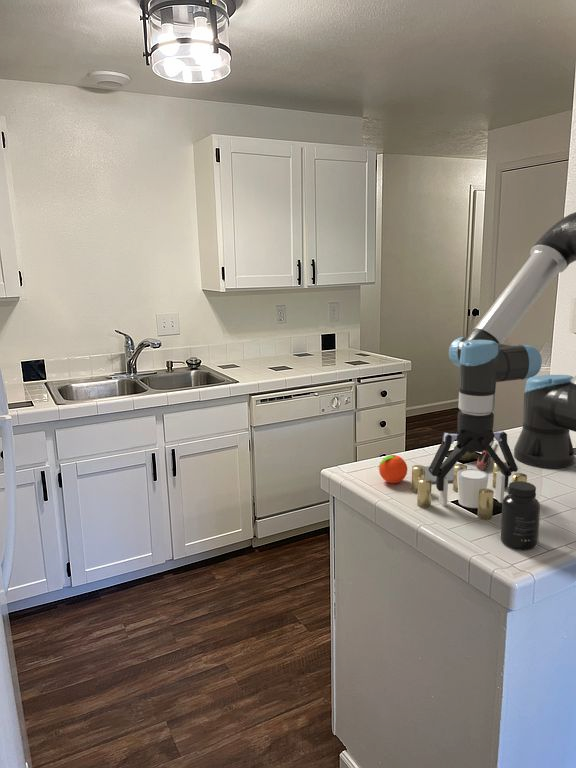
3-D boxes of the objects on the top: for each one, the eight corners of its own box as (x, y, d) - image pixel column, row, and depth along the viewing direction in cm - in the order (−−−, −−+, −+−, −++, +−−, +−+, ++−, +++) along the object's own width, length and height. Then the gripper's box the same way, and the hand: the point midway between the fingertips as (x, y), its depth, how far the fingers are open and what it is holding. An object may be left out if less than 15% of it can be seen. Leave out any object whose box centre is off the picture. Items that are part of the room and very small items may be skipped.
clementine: (386, 490, 139) (387, 462, 138) (369, 481, 145) (370, 454, 144) (412, 484, 143) (413, 456, 141) (395, 475, 149) (395, 448, 147)
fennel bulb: (474, 456, 160) (476, 415, 158) (478, 463, 156) (480, 420, 153) (453, 456, 161) (454, 415, 158) (456, 463, 156) (458, 420, 154)
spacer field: (506, 483, 142) (507, 460, 140) (544, 517, 124) (546, 490, 122) (406, 489, 140) (406, 465, 139) (430, 523, 122) (430, 497, 121)
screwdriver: (487, 443, 172) (488, 433, 171) (498, 444, 170) (498, 435, 170) (474, 471, 150) (474, 461, 149) (485, 473, 149) (486, 462, 148)
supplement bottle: (495, 534, 117) (498, 478, 114) (529, 534, 116) (533, 478, 114) (506, 551, 110) (510, 492, 107) (543, 551, 110) (547, 492, 107)
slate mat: (456, 467, 153) (456, 464, 153) (470, 481, 143) (470, 479, 143) (415, 469, 152) (415, 467, 152) (427, 483, 143) (427, 481, 143)
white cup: (489, 510, 128) (490, 480, 126) (456, 508, 129) (458, 478, 127) (485, 497, 134) (486, 469, 133) (454, 495, 135) (455, 467, 134)
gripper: (522, 404, 131) (516, 492, 136) (416, 408, 130) (413, 497, 134) (538, 413, 124) (531, 506, 129) (426, 418, 122) (423, 511, 127)
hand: (471, 502), depth 131 cm, fingers open, 12 cm apart
